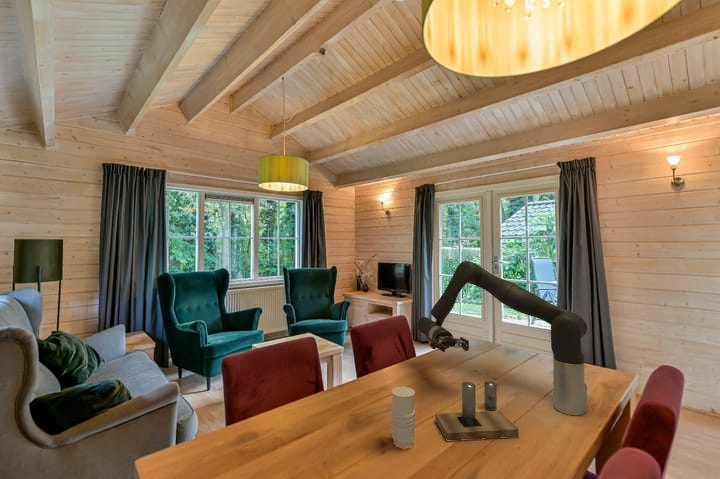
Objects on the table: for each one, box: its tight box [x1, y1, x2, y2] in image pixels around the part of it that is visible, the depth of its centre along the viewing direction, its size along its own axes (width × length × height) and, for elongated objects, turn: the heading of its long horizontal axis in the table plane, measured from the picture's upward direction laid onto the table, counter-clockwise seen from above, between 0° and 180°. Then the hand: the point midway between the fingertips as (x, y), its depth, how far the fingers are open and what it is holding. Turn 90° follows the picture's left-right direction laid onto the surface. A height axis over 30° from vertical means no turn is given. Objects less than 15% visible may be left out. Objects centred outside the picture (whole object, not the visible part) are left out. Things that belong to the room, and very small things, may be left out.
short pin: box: [483, 380, 498, 411], centre depth 119 cm, size 4×4×9 cm
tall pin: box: [461, 381, 477, 427], centre depth 106 cm, size 4×4×14 cm
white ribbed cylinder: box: [390, 386, 416, 448], centre depth 99 cm, size 7×7×15 cm
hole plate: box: [434, 410, 519, 441], centre depth 106 cm, size 22×11×2 cm, turn 95°
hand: (455, 348), depth 123 cm, fingers open, 8 cm apart
